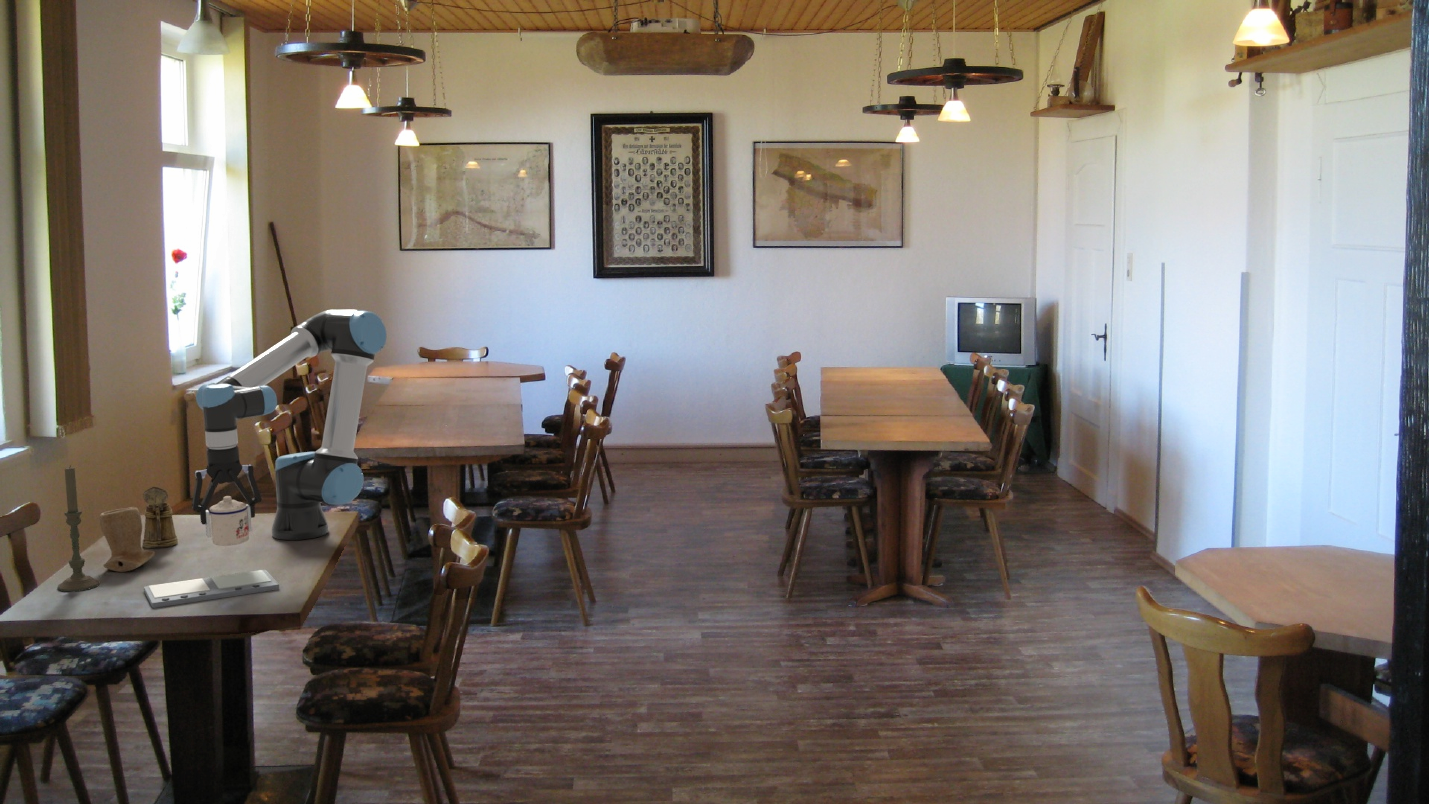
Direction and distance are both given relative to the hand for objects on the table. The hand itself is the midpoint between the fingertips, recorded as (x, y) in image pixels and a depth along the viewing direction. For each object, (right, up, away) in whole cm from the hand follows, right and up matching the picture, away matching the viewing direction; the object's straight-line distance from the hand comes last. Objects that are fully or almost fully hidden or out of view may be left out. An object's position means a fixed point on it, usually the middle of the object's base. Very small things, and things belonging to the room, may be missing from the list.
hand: (229, 533), depth 312 cm
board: (+2, -12, -17) cm, 21 cm away
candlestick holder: (-31, -12, -13) cm, 36 cm away
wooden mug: (-28, -6, +23) cm, 37 cm away
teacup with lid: (+1, -2, +1) cm, 2 cm away
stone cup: (-28, -9, +5) cm, 30 cm away
